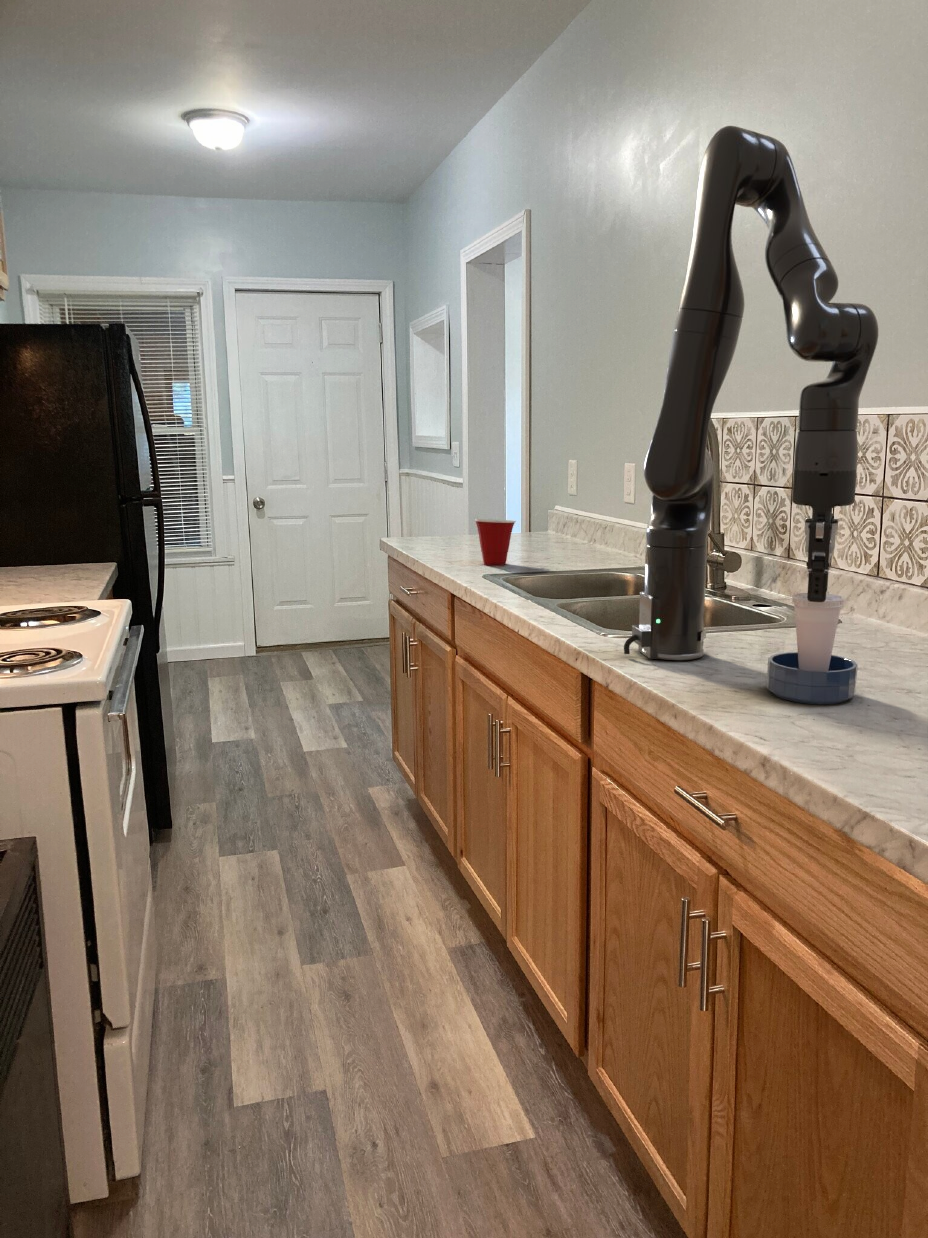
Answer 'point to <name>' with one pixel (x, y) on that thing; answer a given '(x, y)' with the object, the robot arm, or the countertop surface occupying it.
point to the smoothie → (816, 630)
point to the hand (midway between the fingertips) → (817, 596)
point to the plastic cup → (494, 540)
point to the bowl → (811, 680)
